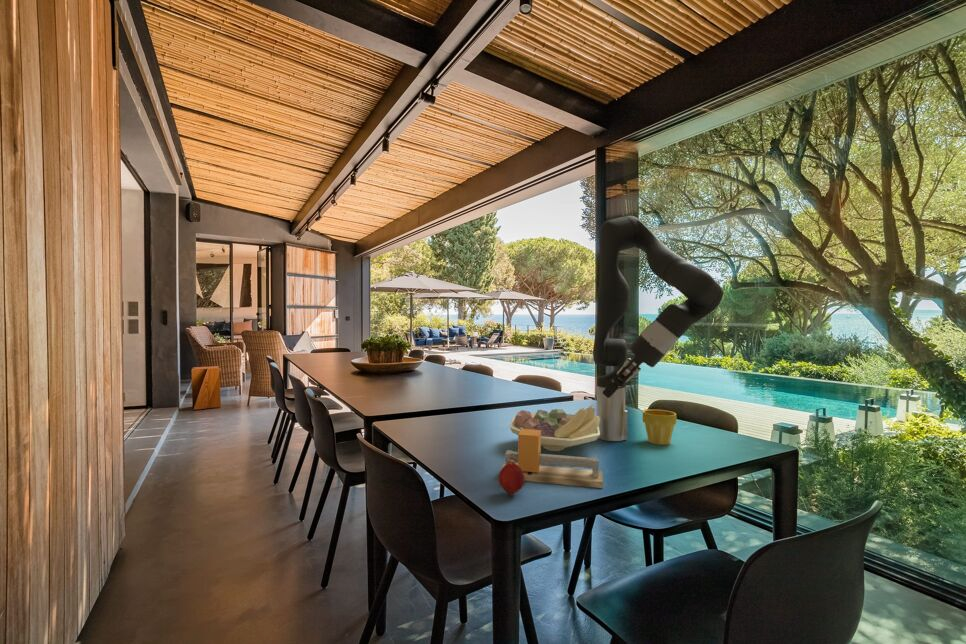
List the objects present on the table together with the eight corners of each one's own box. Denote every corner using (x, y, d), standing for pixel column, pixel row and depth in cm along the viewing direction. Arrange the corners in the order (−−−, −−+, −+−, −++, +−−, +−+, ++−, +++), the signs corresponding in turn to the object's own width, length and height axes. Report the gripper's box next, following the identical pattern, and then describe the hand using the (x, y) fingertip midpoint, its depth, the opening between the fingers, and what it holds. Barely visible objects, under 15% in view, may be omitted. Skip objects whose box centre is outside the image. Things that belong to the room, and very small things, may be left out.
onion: (508, 487, 108) (509, 454, 108) (529, 494, 105) (529, 459, 105) (493, 495, 104) (493, 459, 104) (514, 502, 100) (514, 465, 100)
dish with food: (611, 464, 127) (612, 412, 127) (510, 461, 128) (511, 410, 127) (590, 437, 155) (591, 395, 155) (507, 435, 156) (507, 393, 155)
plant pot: (637, 437, 155) (638, 408, 155) (669, 438, 155) (669, 409, 155) (647, 446, 145) (648, 415, 145) (681, 447, 145) (681, 416, 144)
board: (601, 476, 117) (602, 470, 117) (602, 488, 109) (603, 481, 109) (504, 467, 122) (504, 461, 122) (499, 478, 115) (499, 471, 115)
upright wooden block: (540, 464, 119) (540, 430, 119) (537, 472, 114) (538, 436, 113) (521, 463, 120) (521, 428, 120) (517, 470, 115) (518, 434, 114)
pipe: (598, 473, 115) (598, 457, 115) (598, 478, 112) (598, 461, 112) (507, 465, 120) (507, 450, 120) (504, 469, 117) (505, 453, 117)
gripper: (642, 333, 119) (597, 382, 123) (639, 333, 106) (589, 387, 110) (666, 352, 117) (619, 402, 120) (666, 355, 104) (614, 410, 108)
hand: (605, 395), depth 115 cm, fingers closed
